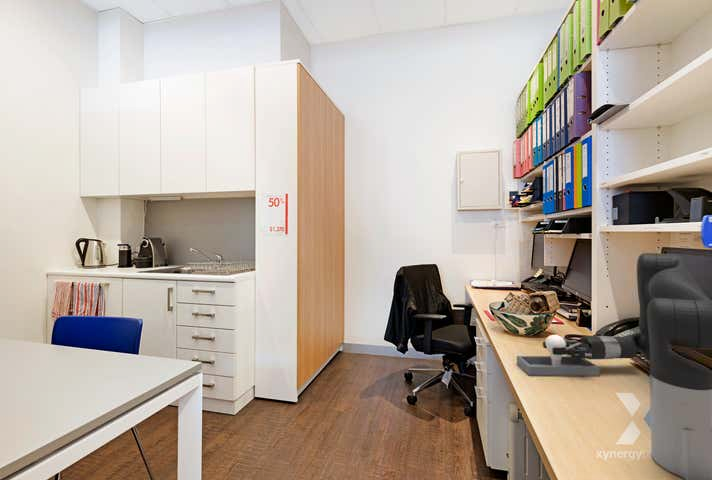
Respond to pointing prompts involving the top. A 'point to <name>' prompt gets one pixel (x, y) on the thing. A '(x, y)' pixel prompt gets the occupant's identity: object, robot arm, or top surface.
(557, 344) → the lightbulb
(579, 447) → the top surface
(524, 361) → the grey tray
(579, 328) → the top surface
